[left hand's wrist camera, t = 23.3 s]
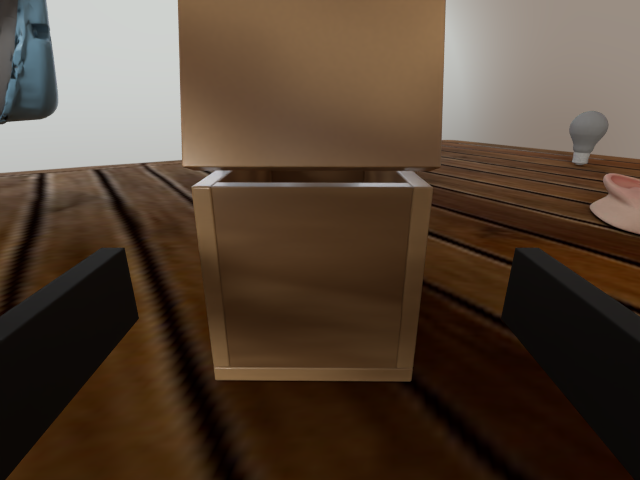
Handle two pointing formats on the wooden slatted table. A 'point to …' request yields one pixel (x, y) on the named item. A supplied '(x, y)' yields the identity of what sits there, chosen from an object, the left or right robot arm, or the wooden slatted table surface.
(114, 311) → the left robot arm
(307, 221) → the chest
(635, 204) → the anatomical model
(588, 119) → the light bulb
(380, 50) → the lid
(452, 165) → the wooden slatted table surface
